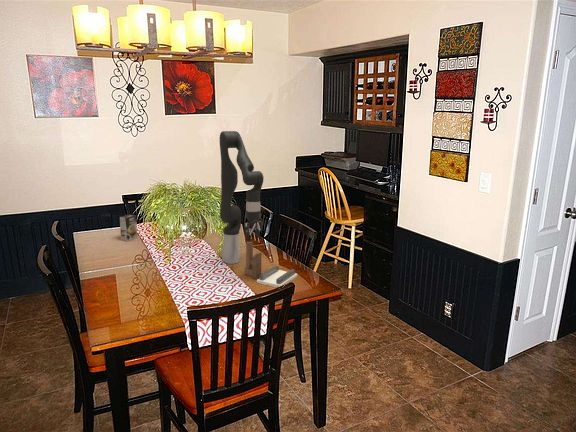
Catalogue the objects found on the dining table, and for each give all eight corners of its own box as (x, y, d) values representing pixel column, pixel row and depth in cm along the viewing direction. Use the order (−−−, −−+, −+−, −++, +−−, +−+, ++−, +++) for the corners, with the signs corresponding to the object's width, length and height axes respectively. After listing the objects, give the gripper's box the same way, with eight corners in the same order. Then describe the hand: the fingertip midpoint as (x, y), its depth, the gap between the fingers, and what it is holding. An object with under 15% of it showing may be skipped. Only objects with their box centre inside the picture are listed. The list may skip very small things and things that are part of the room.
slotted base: (256, 282, 226) (256, 275, 226) (274, 271, 243) (274, 264, 242) (280, 288, 220) (280, 280, 219) (297, 276, 237) (297, 269, 236)
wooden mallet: (255, 279, 231) (256, 246, 227) (244, 273, 239) (244, 242, 235) (261, 278, 233) (261, 245, 229) (250, 272, 241) (250, 240, 237)
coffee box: (127, 241, 291) (126, 217, 287) (120, 240, 293) (119, 216, 289) (137, 238, 299) (136, 215, 295) (130, 236, 301) (129, 214, 297)
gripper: (254, 206, 236) (254, 235, 239) (239, 211, 223) (239, 241, 227) (266, 207, 232) (266, 237, 236) (252, 213, 220) (252, 244, 224)
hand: (253, 239), depth 231 cm, fingers open, 8 cm apart
